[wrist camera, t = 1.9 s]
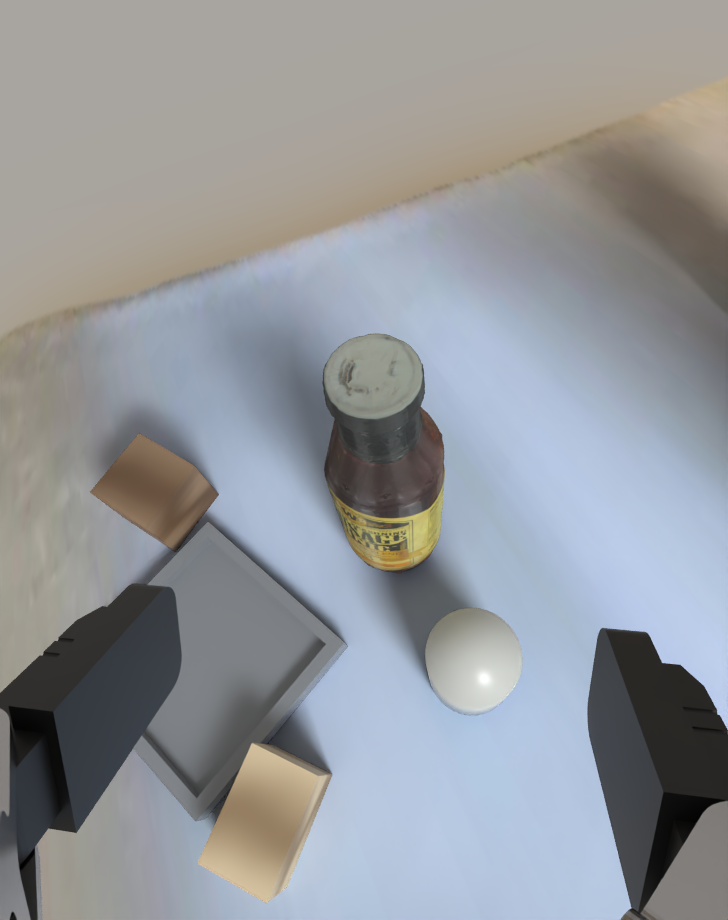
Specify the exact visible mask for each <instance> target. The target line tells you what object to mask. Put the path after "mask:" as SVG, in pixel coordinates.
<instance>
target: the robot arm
mask: <svg viewBox="0 0 728 920" xmlns="http://www.w3.org/2000/svg"><path fill="white" fill-rule="evenodd" d="M181 662H182V651H181V642H180V632H179V623H178V613H177V604H176V596H175V593H174V591H173V589H172V588H171V587H166V586H155V585H144V584H131V585H129V586H128V587H127V588H126V589H125V590H124V591H123V592H122V593H121V594H120V595H119V596H118V597H117V598H116V599H115V600H114V601H113V602H112V603H111V604H110V605H109V606H108V607H104V606H102V607H100V608H98V609H96V610H95V611H93V612H91V613H89V614H87V615H85V616H84V617H82V618H80V619H78V620H77V621H75V622H74V623H73V624H72V625H71V626H70V627H69V628H68V629H67V630H66V631H65V632H64V633H63V634H62V635H61V636H60V637H59V639H58V641H54V642H53V643H52V644H51V645H50V646H49V647H48V648H47V649H46V650H45V651H44V654H43V656H39V657H38V658H37V659H36V660H34V661H33V662H32V663H31V664H30V665H29V666H28V667H27V668H26V669H25V670H24V671H23V672H22V673H21V674H20V675H19V676H18V677H17V678H16V679H15V680H13V681H12V682H11V683H10V684H9V685H8V686H7V687H6V688H5V689H4V690H3V691H2V692H1V693H0V920H43V919H42V897H41V875H40V856H39V851H38V846H37V843H38V842H39V840H40V839H41V838H42V836H43V835H44V833H45V832H46V831H47V829H48V828H50V829H56V830H62V831H69V832H75V833H77V831H78V830H79V828H80V827H81V825H82V824H83V822H84V821H85V819H86V818H87V816H88V815H89V813H90V812H91V810H92V809H93V807H94V806H95V804H96V803H97V801H98V800H99V798H100V797H101V795H102V794H103V792H104V791H105V789H106V788H107V786H108V785H109V783H110V782H111V780H112V779H113V777H114V776H115V774H116V773H117V771H118V770H119V769H120V767H121V766H122V764H123V763H124V761H125V760H126V758H127V757H128V755H129V754H130V752H131V751H132V749H133V748H134V746H135V745H136V743H137V742H138V740H139V739H140V737H141V736H142V734H143V733H144V731H145V730H146V728H147V727H148V725H149V724H150V722H151V721H152V719H153V718H154V716H155V715H156V713H157V712H158V710H159V709H160V707H161V706H162V704H163V703H164V701H165V700H166V698H167V697H168V695H169V694H170V692H171V691H172V689H173V688H174V686H175V684H176V682H177V679H178V676H179V673H180V669H181ZM588 730H589V737H590V741H591V745H592V749H593V753H594V757H595V761H596V765H597V769H598V774H599V778H600V782H601V786H602V790H603V794H604V798H605V802H606V806H607V810H608V814H609V818H610V822H611V826H612V830H613V834H614V838H615V842H616V847H617V851H618V855H619V859H620V863H621V867H622V871H623V875H624V879H625V883H626V887H627V891H628V895H629V899H630V903H631V907H632V909H630V910H628V911H627V912H626V913H625V915H624V916H623V917H622V918H621V920H728V730H727V728H726V726H725V724H724V722H723V721H722V719H721V717H720V715H717V709H716V707H715V706H714V704H713V702H712V700H711V698H710V696H709V694H708V693H707V691H706V689H705V687H704V686H703V685H702V684H701V683H700V682H699V681H698V680H696V679H695V678H694V677H693V676H692V675H691V674H690V673H689V672H688V671H686V670H685V669H684V668H683V667H682V666H681V665H676V664H666V663H662V662H661V660H660V658H659V655H658V653H657V651H656V649H655V647H654V645H653V642H652V640H651V638H650V636H649V635H648V633H646V632H639V631H629V630H618V629H607V628H602V629H601V630H600V632H599V634H598V639H597V645H596V651H595V658H594V665H593V671H592V678H591V684H590V691H589V698H588Z"/></svg>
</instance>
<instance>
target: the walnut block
mask: <svg viewBox="0 0 728 920" xmlns="http://www.w3.org/2000/svg"><path fill="white" fill-rule="evenodd" d="M90 493H92V494H93V495H94V496H96V497H97V498H98V499H100V500H101V501H102V502H104V503H105V504H106V505H108V506H109V507H110V508H112V509H113V510H114V511H116V512H117V513H118V514H120V515H121V516H122V517H124V518H125V519H127V520H128V521H130V522H131V523H133V524H134V525H136V526H137V527H139V528H140V529H142V530H143V531H145V532H146V533H148V534H149V535H151V536H152V537H154V538H155V539H157V540H158V541H160V542H161V543H163V544H164V545H166V546H167V547H169V548H170V549H172V550H173V551H175V552H176V551H177V549H178V548H179V547H180V545H181V544H182V543H183V541H184V540H185V539H186V537H187V536H188V535H189V533H190V532H191V531H192V529H193V528H194V527H195V525H196V524H197V523H198V521H199V520H200V519H201V517H202V516H203V515H204V513H205V512H206V511H207V509H208V508H209V507H210V506H211V504H212V503H213V502H214V500H215V499H216V498H217V496H218V495H219V494H218V493H217V492H216V491H215V489H214V488H213V487H212V486H211V485H210V484H209V482H208V481H207V480H206V479H205V478H204V477H203V475H202V474H201V473H200V472H199V471H198V470H197V468H196V467H195V466H194V465H192V464H190V463H189V462H187V461H185V460H184V459H182V458H180V457H179V456H177V455H175V454H174V453H172V452H170V451H168V450H167V449H165V448H163V447H162V446H160V445H158V444H157V443H155V442H153V441H152V440H150V439H148V438H147V437H145V436H143V435H142V434H140V433H139V434H138V435H137V436H136V437H135V439H134V440H133V441H132V442H131V443H130V445H129V446H128V447H127V448H126V449H125V451H124V452H123V453H122V454H121V455H120V457H119V458H118V459H117V460H116V461H115V463H114V464H113V465H112V466H111V467H110V469H109V470H108V471H107V472H106V473H105V475H104V476H103V477H102V478H101V479H100V481H99V482H98V483H97V484H96V485H95V487H94V488H93V489H92V490H91V491H90Z"/></svg>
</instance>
